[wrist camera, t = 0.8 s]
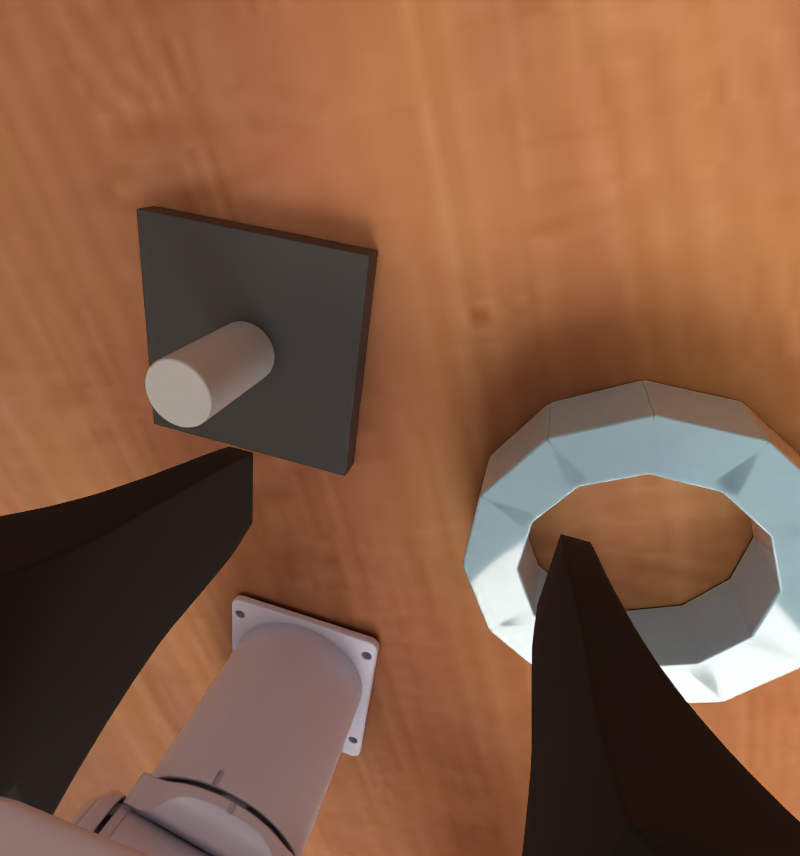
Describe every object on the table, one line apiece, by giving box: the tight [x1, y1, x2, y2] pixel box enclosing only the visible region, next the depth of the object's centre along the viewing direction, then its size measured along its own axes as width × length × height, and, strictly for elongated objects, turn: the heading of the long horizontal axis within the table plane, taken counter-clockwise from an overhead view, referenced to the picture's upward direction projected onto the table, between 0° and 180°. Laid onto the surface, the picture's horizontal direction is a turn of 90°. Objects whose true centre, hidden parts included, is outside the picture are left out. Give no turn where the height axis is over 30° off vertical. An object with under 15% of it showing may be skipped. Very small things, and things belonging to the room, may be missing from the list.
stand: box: [137, 206, 378, 476], centre depth 20 cm, size 9×9×6 cm
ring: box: [463, 380, 800, 703], centre depth 20 cm, size 12×12×3 cm
